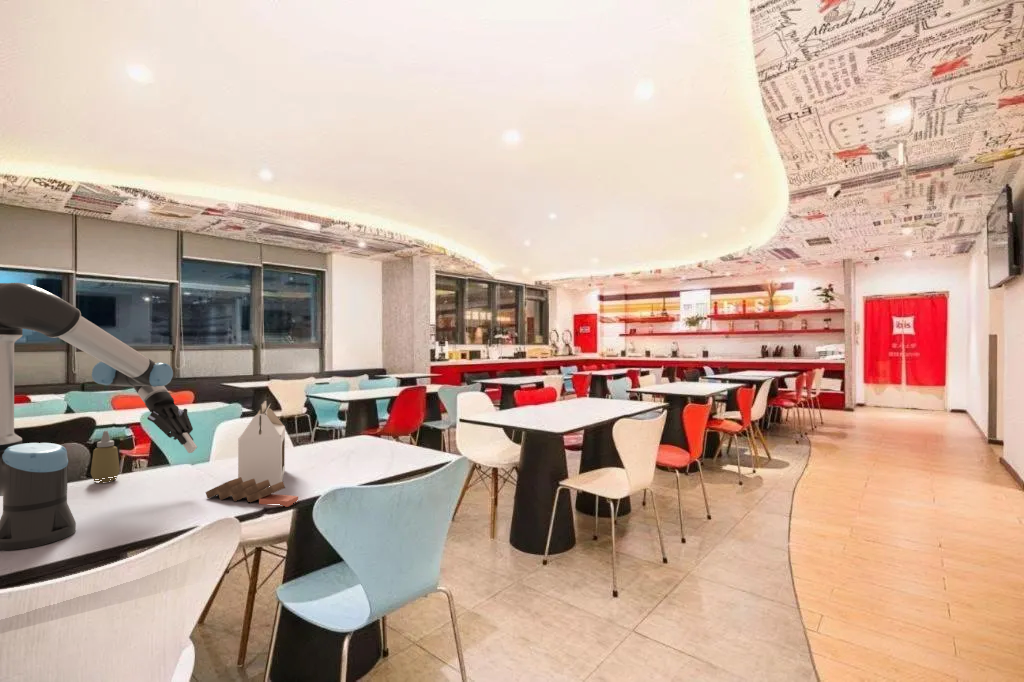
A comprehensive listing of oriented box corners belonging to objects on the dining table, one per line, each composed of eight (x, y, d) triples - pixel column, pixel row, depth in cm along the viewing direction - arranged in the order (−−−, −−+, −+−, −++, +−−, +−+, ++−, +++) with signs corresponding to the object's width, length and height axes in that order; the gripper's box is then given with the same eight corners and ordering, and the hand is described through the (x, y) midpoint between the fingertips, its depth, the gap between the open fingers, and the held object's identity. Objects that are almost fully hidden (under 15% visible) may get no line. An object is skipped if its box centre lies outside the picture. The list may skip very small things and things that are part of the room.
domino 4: (246, 496, 151) (271, 485, 149) (257, 491, 156) (282, 481, 154) (248, 503, 151) (274, 492, 149) (260, 498, 156) (285, 487, 154)
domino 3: (231, 495, 152) (256, 483, 150) (244, 490, 157) (268, 479, 155) (234, 501, 152) (259, 490, 150) (246, 496, 157) (270, 485, 155)
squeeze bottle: (123, 480, 175) (124, 430, 175) (95, 486, 168) (95, 434, 168) (114, 477, 179) (115, 428, 180) (86, 482, 173) (87, 431, 173)
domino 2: (218, 493, 154) (241, 482, 151) (230, 489, 159) (254, 478, 156) (220, 500, 154) (244, 489, 151) (233, 495, 158) (256, 484, 156)
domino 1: (205, 492, 155) (228, 481, 153) (218, 487, 160) (241, 477, 158) (207, 498, 155) (230, 487, 153) (220, 493, 160) (243, 483, 158)
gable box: (281, 486, 170) (281, 405, 170) (237, 490, 165) (238, 407, 165) (284, 470, 190) (285, 398, 190) (246, 473, 185) (247, 400, 185)
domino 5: (259, 498, 150) (287, 501, 148) (270, 493, 155) (298, 496, 153) (259, 505, 150) (287, 508, 148) (270, 500, 155) (298, 503, 153)
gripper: (168, 403, 173) (204, 453, 168) (131, 407, 161) (167, 461, 156) (180, 388, 172) (216, 439, 167) (143, 391, 159) (180, 446, 154)
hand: (193, 450), depth 161 cm, fingers closed
